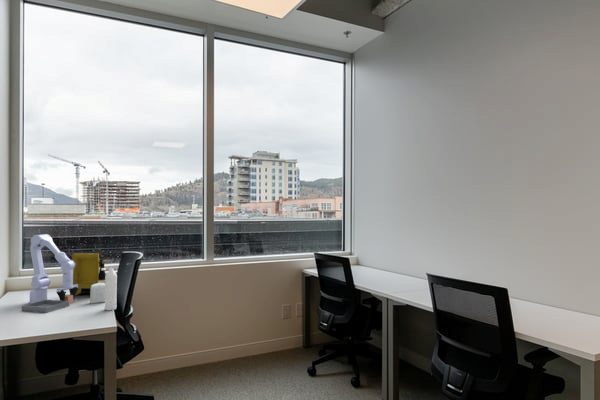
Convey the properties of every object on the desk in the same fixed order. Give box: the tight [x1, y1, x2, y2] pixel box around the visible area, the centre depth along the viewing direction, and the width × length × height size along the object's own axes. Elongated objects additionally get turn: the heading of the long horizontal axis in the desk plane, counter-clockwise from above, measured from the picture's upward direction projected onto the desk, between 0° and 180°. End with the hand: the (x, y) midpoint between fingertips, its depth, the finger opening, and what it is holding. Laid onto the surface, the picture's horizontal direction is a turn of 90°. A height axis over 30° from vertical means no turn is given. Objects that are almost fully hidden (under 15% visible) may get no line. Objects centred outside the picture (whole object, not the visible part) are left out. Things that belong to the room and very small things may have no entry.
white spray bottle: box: [101, 267, 118, 311], centre depth 226 cm, size 9×6×25 cm
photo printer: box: [89, 282, 105, 304], centre depth 243 cm, size 10×4×12 cm, turn 123°
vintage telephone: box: [71, 253, 110, 297], centre depth 265 cm, size 31×14×30 cm, turn 92°
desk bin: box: [21, 299, 70, 314], centre depth 227 cm, size 18×16×3 cm
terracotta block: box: [64, 294, 74, 305], centre depth 241 cm, size 5×4×5 cm
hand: (67, 300), depth 241 cm, fingers open, 7 cm apart
